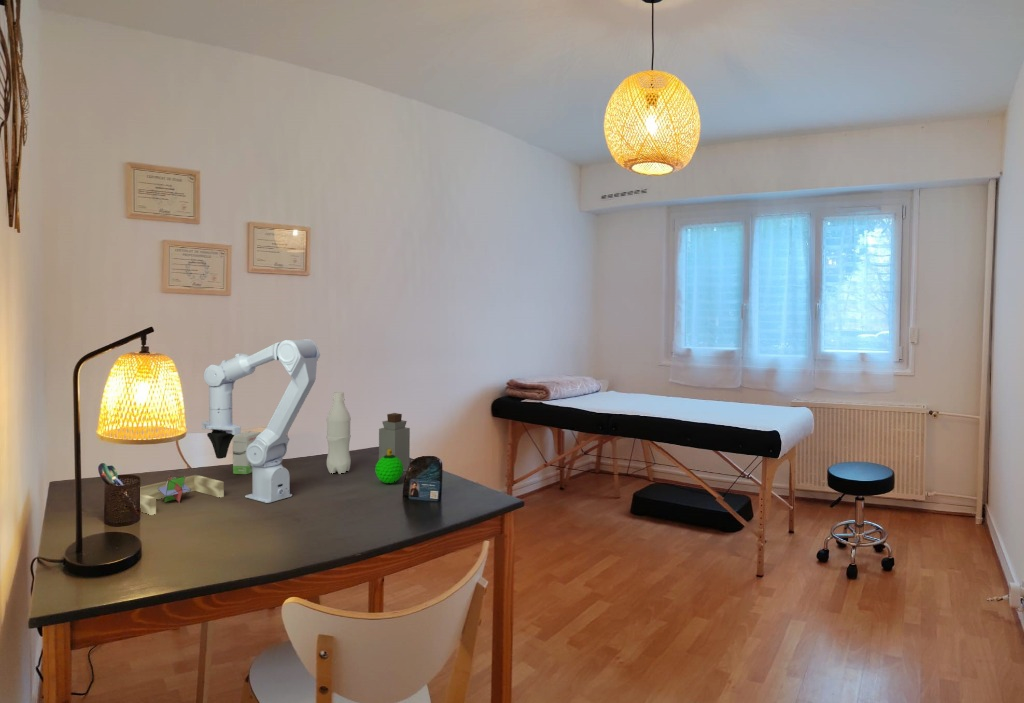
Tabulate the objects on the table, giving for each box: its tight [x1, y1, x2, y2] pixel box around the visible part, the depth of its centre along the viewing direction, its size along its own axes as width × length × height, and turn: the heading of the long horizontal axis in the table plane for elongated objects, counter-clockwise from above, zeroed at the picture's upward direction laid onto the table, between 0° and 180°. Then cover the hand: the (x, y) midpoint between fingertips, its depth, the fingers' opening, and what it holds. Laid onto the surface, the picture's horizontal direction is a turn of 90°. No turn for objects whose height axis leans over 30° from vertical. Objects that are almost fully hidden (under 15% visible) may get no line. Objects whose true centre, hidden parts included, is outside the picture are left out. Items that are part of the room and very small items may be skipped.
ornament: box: [374, 449, 404, 484], centre depth 184 cm, size 8×8×10 cm
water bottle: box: [326, 391, 352, 475], centre depth 195 cm, size 7×7×25 cm
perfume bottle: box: [378, 412, 411, 470], centre depth 199 cm, size 7×7×18 cm
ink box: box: [232, 430, 261, 475], centre depth 195 cm, size 9×5×12 cm, turn 173°
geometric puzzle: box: [157, 475, 192, 504], centre depth 163 cm, size 7×7×8 cm
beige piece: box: [139, 474, 225, 516], centre depth 163 cm, size 13×19×4 cm, turn 148°
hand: (221, 457), depth 172 cm, fingers closed
